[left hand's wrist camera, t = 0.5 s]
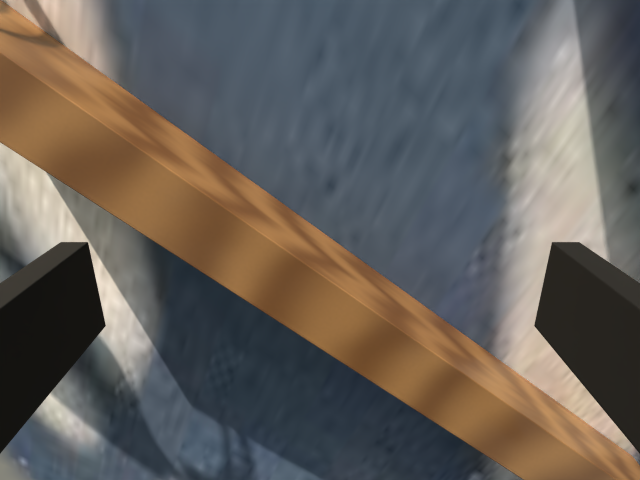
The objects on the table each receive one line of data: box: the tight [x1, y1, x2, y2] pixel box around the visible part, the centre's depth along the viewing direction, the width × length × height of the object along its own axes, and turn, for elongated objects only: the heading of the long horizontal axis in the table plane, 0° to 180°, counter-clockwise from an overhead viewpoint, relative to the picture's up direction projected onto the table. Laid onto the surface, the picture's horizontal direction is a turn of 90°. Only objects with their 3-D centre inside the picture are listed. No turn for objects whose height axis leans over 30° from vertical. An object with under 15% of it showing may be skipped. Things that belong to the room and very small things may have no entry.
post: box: [0, 0, 640, 480], centre depth 37 cm, size 73×5×8 cm, turn 52°
